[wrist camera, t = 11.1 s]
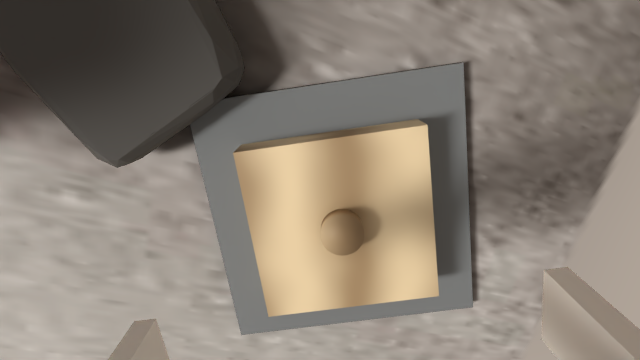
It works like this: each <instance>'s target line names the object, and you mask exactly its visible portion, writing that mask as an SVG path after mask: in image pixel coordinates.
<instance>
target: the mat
mask: <svg viewBox="0 0 640 360" xmlns="http://www.w3.org/2000/svg"><path fill="white" fill-rule="evenodd" d="M415 119H419V120H420V121H422V122H424V123H425V124H427V125H428V140H429V155H430V170H431V184H432V199H433V214H434V229H435V244H436V259H437V274H438V289H439V296H436V297H428V298H419V299H411V300H403V301H395V302H386V303H378V304H370V305H362V306H354V307H345V308H337V309H329V310H321V311H313V312H304V313H296V314H288V315H280V316H271V317H269V316H268V312H267V307H266V302H265V298H264V293H263V289H262V284H261V279H260V275H259V270H258V266H257V261H256V256H255V252H254V247H253V243H252V238H251V233H250V229H249V224H248V219H247V215H246V210H245V206H244V201H243V196H242V192H241V187H240V183H239V178H238V173H237V169H236V164H235V160H234V155H233V152H234V151H235V150H236V149H237V148H238V147H239V146H240V145H242V144H249V143H256V142H262V141H269V140H276V139H283V138H290V137H297V136H304V135H311V134H318V133H325V132H332V131H339V130H345V129H352V128H359V127H366V126H373V125H380V124H387V123H394V122H401V121H408V120H415ZM190 127H191V131H192V135H193V139H194V143H195V147H196V151H197V156H198V160H199V164H200V168H201V172H202V176H203V180H204V184H205V188H206V192H207V196H208V201H209V205H210V209H211V213H212V217H213V221H214V225H215V229H216V233H217V237H218V241H219V246H220V250H221V254H222V258H223V262H224V266H225V270H226V274H227V278H228V282H229V286H230V290H231V295H232V299H233V303H234V307H235V311H236V315H237V319H238V323H239V327H240V331H241V335H245V334H253V333H261V332H270V331H278V330H286V329H295V328H303V327H311V326H320V325H328V324H337V323H345V322H353V321H362V320H370V319H378V318H387V317H395V316H403V315H412V314H420V313H428V312H437V311H445V310H453V309H462V308H470V307H473V295H472V269H471V243H470V217H469V191H468V165H467V139H466V113H465V87H464V63H455V64H448V65H441V66H435V67H428V68H422V69H415V70H408V71H402V72H395V73H388V74H382V75H375V76H369V77H362V78H355V79H349V80H342V81H335V82H329V83H322V84H316V85H309V86H302V87H296V88H289V89H282V90H276V91H269V92H263V93H256V94H249V95H243V96H236V97H230V98H223V99H222V100H221V101H220V102H219V103H217V104H216V105H215V106H214V107H213V108H212V109H211V110H209V111H208V112H207V113H205V114H204V115H202V116H201V117H200V118H198V119H197V120H195V121H194V122H193V123H191V124H190Z"/></svg>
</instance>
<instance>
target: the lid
mask: <svg viewBox="0 0 640 360" xmlns="http://www.w3.org/2000/svg"><path fill="white" fill-rule="evenodd" d="M233 155H234V160H235V164H236V169H237V173H238V178H239V183H240V187H241V192H242V196H243V201H244V206H245V210H246V215H247V219H248V224H249V229H250V233H251V238H252V243H253V247H254V252H255V256H256V261H257V266H258V270H259V275H260V279H261V284H262V289H263V293H264V298H265V302H266V307H267V312H268V316H269V317H271V316H280V315H288V314H296V313H304V312H313V311H321V310H329V309H337V308H345V307H354V306H362V305H370V304H378V303H386V302H395V301H403V300H411V299H419V298H428V297H436V296H439V289H438V274H437V259H436V244H435V229H434V214H433V199H432V184H431V170H430V155H429V140H428V125H427V124H425V123H424V122H422V121H420V120H419V119H415V120H408V121H401V122H394V123H387V124H380V125H373V126H366V127H359V128H352V129H345V130H339V131H332V132H325V133H318V134H311V135H304V136H297V137H290V138H283V139H276V140H269V141H262V142H256V143H249V144H242V145H240V146H239V147H238V148H237V149H236V150H235V151H234V152H233Z"/></svg>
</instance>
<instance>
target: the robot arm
mask: <svg viewBox="0 0 640 360" xmlns="http://www.w3.org/2000/svg"><path fill="white" fill-rule="evenodd" d="M541 334H542V335H541V339H542V340H543V341H544V342H545V344H546V345H547V346H548V348H549V349H550V350H551V352H553V354H554V355H555V357H556V358H557V359H558V360H640V329H639V328H638V327H636V326H635V325H634V324H633V323H632V322H631V321H629V320H628V319H627V318H626V317H625V316H624V315H623V314H621V313H620V312H619V311H618V310H617V309H616V308H614V307H613V306H612V305H611V304H610V303H609V302H607V301H606V300H605V299H604V298H603V297H602V296H601V295H599V294H598V293H597V292H596V291H595V290H594V289H592V288H591V287H590V286H589V285H588V284H587V283H586V282H584V281H583V280H582V279H581V278H580V277H579V276H577V275H576V274H575V273H574V272H573V271H572V270H571V269H569V268H568V267H563V268H556V269H548V270H544V279H543V306H542V333H541ZM108 360H169V357H168V354H167V351H166V348H165V345H164V342H163V339H162V336H161V333H160V330H159V327H158V324H157V321H156V319H150V320H142V321H134V323H133V324H132V326H131V327H130V328H129V330H128V331H127V333H126V334H125V336H124V337H123V339H122V340H121V341H120V343H119V344H118V346H117V347H116V349H115V350H114V352H113V353H112V355H111V356H110V357H109V359H108Z"/></svg>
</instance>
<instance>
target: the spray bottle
mask: <svg viewBox="0 0 640 360" xmlns="http://www.w3.org/2000/svg"><path fill="white" fill-rule="evenodd" d="M0 52H1V54H2V55H3V57H4V58H5V59H6V61H7V62H8V63H9V65H10V66H11V67H12V69H13V70H14V71H15V72H16V74H17V75H18V76H19V77H20V78H21V79H22V80H23V81H24V82H25V83H26V84H27V85H28V86H29V87H30V88H31V89H32V90H33V92H34V93H35V94H36V95H37V96H38V97H39V98H40V99H41V100H42V101H43V102H44V103H45V104H46V105H47V106H48V107H49V108H50V110H51V111H52V112H53V113H54V114H55V115H56V116H57V117H58V118H59V119H60V120H61V121H62V122H63V123H64V124H65V125H66V126H67V128H68V129H69V130H70V131H71V132H72V133H73V134H74V135H75V136H76V137H77V138H78V139H79V140H80V141H81V142H82V143H83V144H84V145H85V146H86V147H87V148H88V149H89V150H90V151H91V152H92V154H93V155H94V156H95V157H96V158H97V159H99V160H102V161H104V162H106V163H108V164H110V165H112V166H115V167H117V168H118V167H121V166H124V165H127V164H130V163H132V162H134V161H136V160H138V159H141V158H143V157H144V156H145V155H147V154H148V153H150V152H151V151H153V150H154V149H155V148H157V147H158V146H160V145H161V144H163V143H164V142H165V141H167V140H168V139H170V138H171V137H173V136H174V135H175V134H177V133H178V132H180V131H181V130H183V129H184V128H185V127H187V126H188V125H190V124H191V123H193V122H194V121H195V120H197V119H198V118H200V117H201V116H202V115H204V114H205V113H207V112H208V111H209V110H211V109H212V108H213V107H214V106H215V105H216V104H217V103H219V102H220V101H221V100H222V99H223V98H224V97H226V96H227V95H228V94H229V93H230V92H231V91H233V90H234V89H235V88H236V87H237V86H238V85H239V82H240V80H241V77H242V75H243V72H244V64H243V59H242V55H241V51H240V49H239V47H238V45H237V43H236V41H235V39H234V37H233V35H232V33H231V31H230V29H229V27H228V25H227V23H226V21H225V19H224V17H223V15H222V13H221V11H220V9H219V7H218V5H217V4H216V2H215V1H214V0H0Z"/></svg>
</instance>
